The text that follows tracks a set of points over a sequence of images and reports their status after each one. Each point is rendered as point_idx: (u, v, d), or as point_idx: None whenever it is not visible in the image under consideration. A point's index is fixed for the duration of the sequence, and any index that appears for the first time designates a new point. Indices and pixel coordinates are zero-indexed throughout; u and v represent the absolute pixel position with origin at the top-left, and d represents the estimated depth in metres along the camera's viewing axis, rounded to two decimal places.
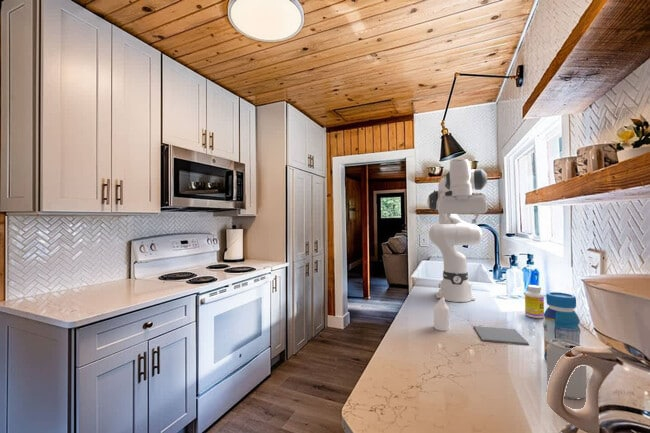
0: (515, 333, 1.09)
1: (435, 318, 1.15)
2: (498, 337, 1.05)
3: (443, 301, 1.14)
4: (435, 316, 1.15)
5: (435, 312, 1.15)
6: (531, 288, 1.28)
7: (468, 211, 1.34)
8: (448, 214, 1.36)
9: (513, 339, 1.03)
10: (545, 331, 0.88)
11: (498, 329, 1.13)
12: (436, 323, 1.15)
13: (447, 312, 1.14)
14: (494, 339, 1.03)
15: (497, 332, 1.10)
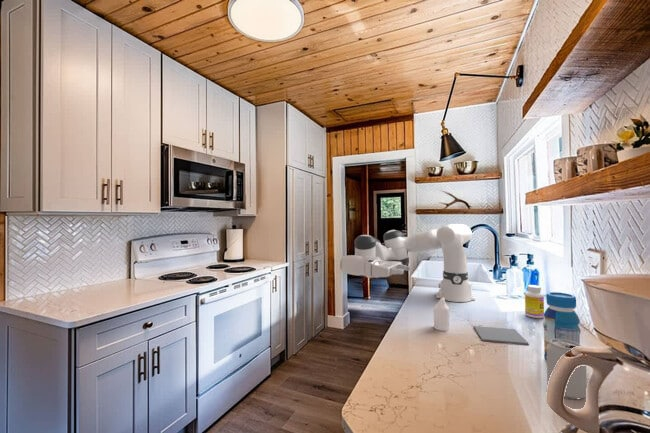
0: (515, 333, 1.09)
1: (435, 318, 1.15)
2: (498, 337, 1.05)
3: (443, 301, 1.14)
4: (435, 316, 1.15)
5: (435, 312, 1.15)
6: (531, 288, 1.28)
7: (395, 264, 1.27)
8: (391, 268, 1.20)
9: (513, 339, 1.03)
10: (545, 331, 0.88)
11: (498, 329, 1.13)
12: (436, 323, 1.15)
13: (447, 312, 1.14)
14: (494, 339, 1.03)
15: (497, 332, 1.10)
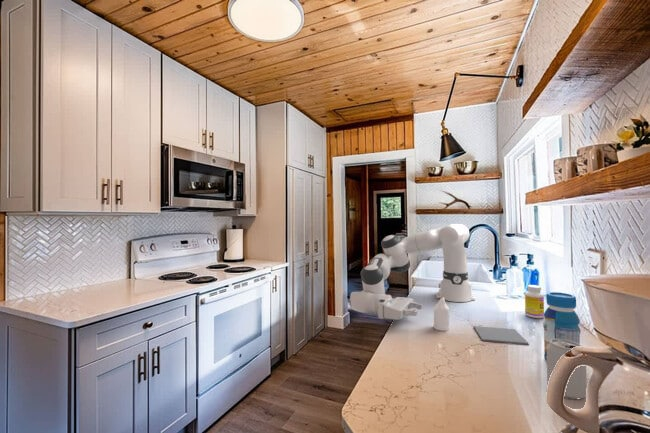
0: (515, 333, 1.09)
1: (435, 318, 1.15)
2: (498, 337, 1.05)
3: (443, 301, 1.14)
4: (435, 316, 1.15)
5: (435, 312, 1.15)
6: (531, 288, 1.28)
7: (407, 302, 1.24)
8: (404, 309, 1.17)
9: (513, 339, 1.03)
10: (545, 331, 0.88)
11: (498, 329, 1.13)
12: (436, 323, 1.15)
13: (447, 312, 1.14)
14: (494, 339, 1.03)
15: (497, 332, 1.10)
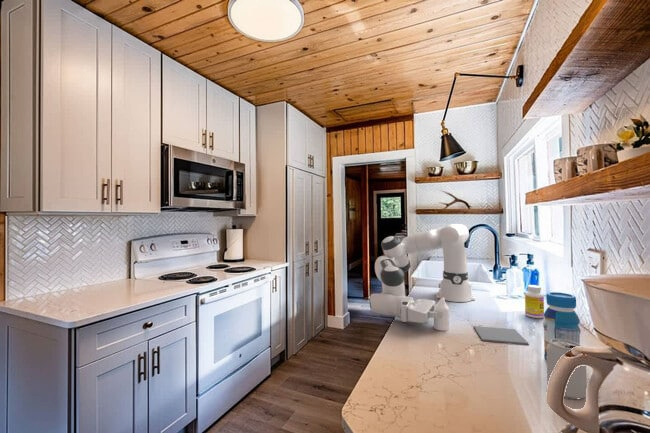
0: (515, 333, 1.09)
1: (435, 318, 1.15)
2: (498, 337, 1.05)
3: (443, 301, 1.14)
4: None
5: None
6: (531, 288, 1.28)
7: (430, 304, 1.20)
8: (430, 311, 1.13)
9: (513, 339, 1.03)
10: (545, 331, 0.88)
11: (498, 329, 1.13)
12: (436, 323, 1.15)
13: (447, 312, 1.14)
14: (494, 339, 1.03)
15: (497, 332, 1.10)
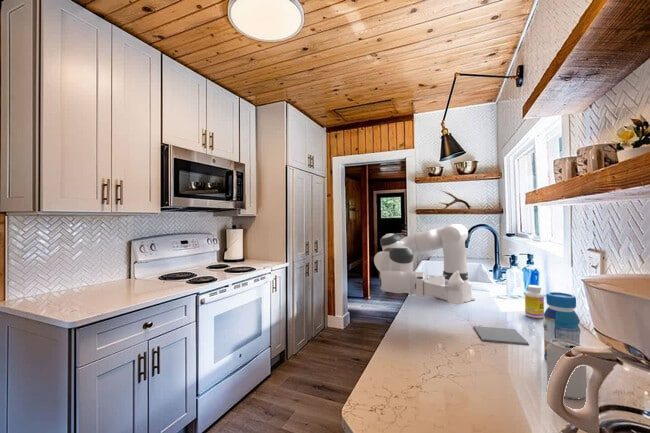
0: (515, 333, 1.09)
1: (450, 292, 1.12)
2: (498, 337, 1.05)
3: (458, 274, 1.12)
4: None
5: None
6: (531, 288, 1.28)
7: (443, 279, 1.17)
8: (446, 285, 1.10)
9: (513, 339, 1.03)
10: (545, 331, 0.88)
11: (498, 329, 1.13)
12: (451, 297, 1.11)
13: (463, 285, 1.11)
14: (494, 339, 1.03)
15: (497, 332, 1.10)
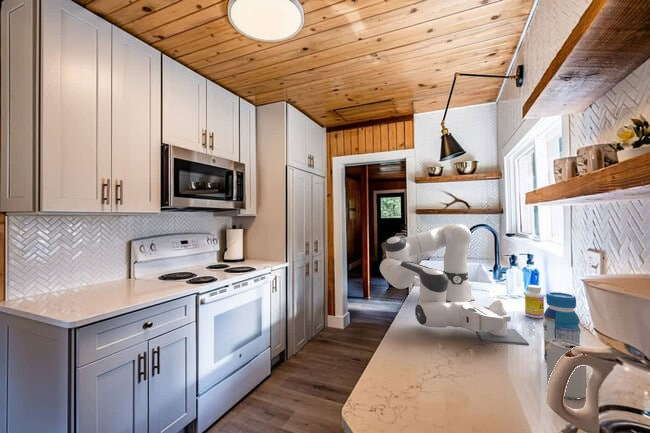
0: (515, 333, 1.09)
1: None
2: (498, 337, 1.05)
3: (501, 304, 1.08)
4: None
5: None
6: (531, 288, 1.28)
7: (483, 307, 1.10)
8: (499, 316, 1.02)
9: (513, 339, 1.03)
10: (545, 331, 0.88)
11: None
12: None
13: None
14: (494, 339, 1.03)
15: None
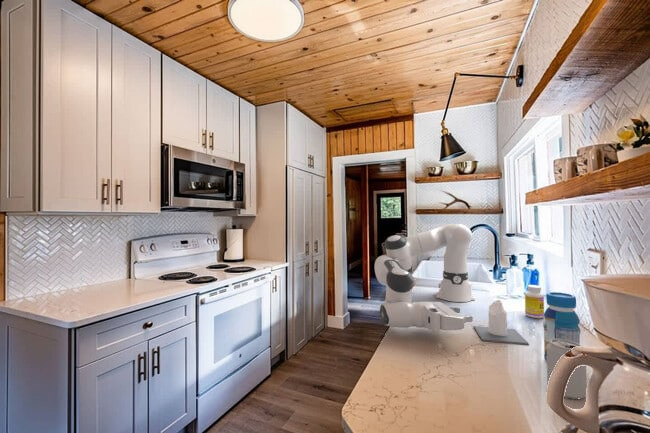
0: (515, 333, 1.09)
1: (495, 324, 1.07)
2: (498, 337, 1.05)
3: (501, 304, 1.08)
4: (495, 321, 1.07)
5: (495, 317, 1.07)
6: (531, 288, 1.28)
7: (447, 307, 1.10)
8: (461, 316, 1.02)
9: (513, 339, 1.03)
10: (545, 331, 0.88)
11: None
12: (497, 329, 1.07)
13: (506, 316, 1.08)
14: (494, 339, 1.03)
15: None
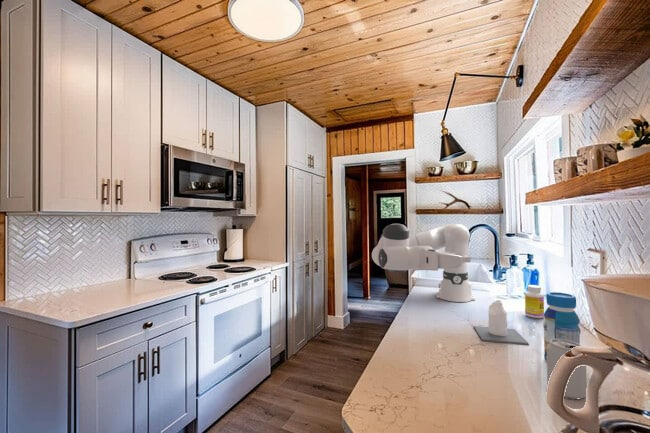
0: (515, 333, 1.09)
1: (495, 324, 1.07)
2: (498, 337, 1.05)
3: (501, 304, 1.08)
4: (495, 321, 1.07)
5: (495, 317, 1.07)
6: (531, 288, 1.28)
7: None
8: None
9: (513, 339, 1.03)
10: (545, 331, 0.88)
11: None
12: (497, 329, 1.07)
13: (506, 316, 1.08)
14: (494, 339, 1.03)
15: None
